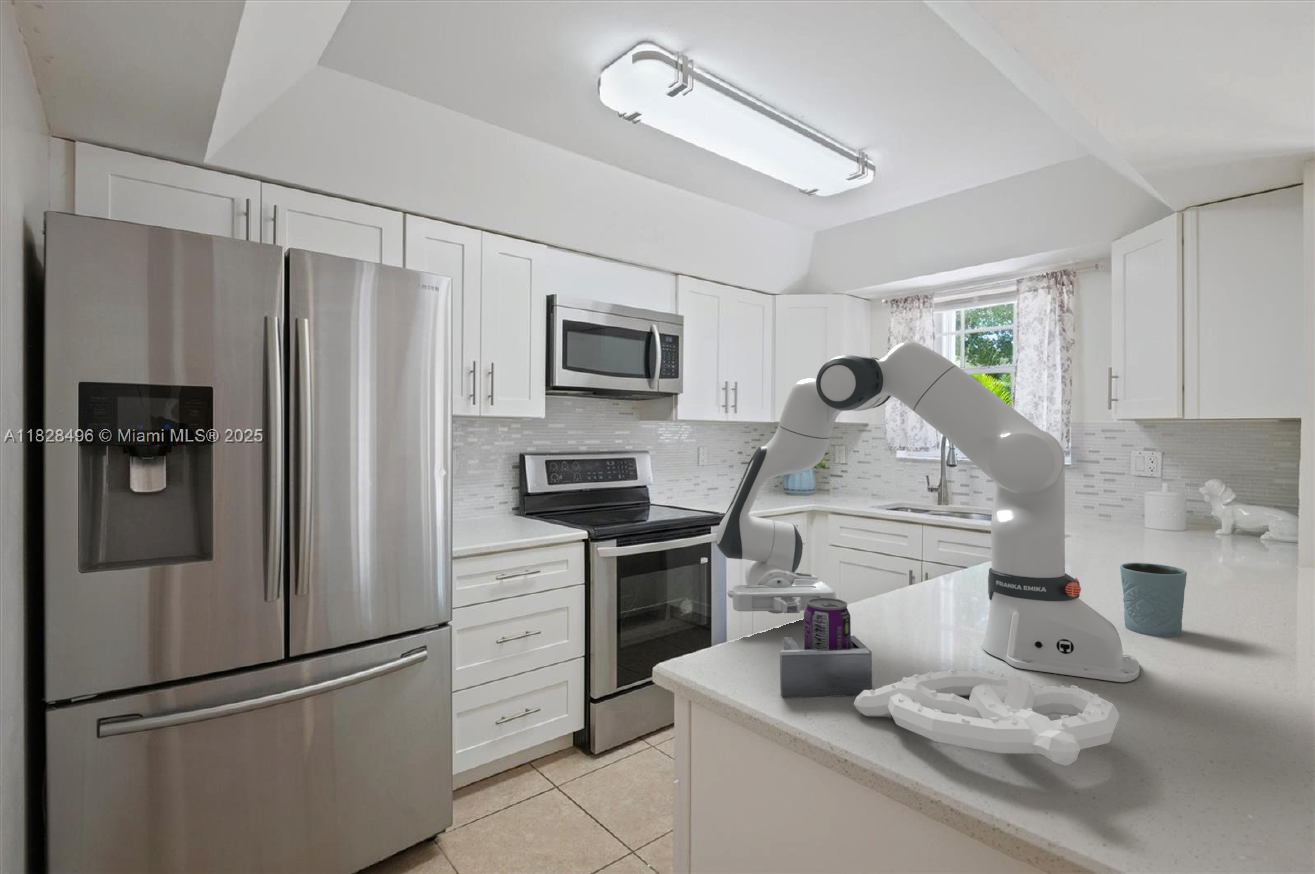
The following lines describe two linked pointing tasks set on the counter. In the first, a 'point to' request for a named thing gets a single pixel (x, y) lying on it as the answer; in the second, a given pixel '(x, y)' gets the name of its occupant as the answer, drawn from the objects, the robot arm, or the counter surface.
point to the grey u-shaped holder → (825, 670)
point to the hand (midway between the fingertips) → (792, 608)
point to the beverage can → (827, 624)
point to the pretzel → (995, 713)
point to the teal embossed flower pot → (1153, 598)
